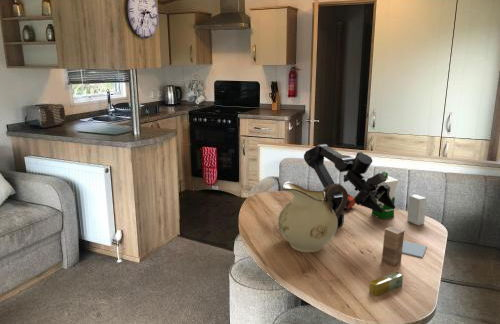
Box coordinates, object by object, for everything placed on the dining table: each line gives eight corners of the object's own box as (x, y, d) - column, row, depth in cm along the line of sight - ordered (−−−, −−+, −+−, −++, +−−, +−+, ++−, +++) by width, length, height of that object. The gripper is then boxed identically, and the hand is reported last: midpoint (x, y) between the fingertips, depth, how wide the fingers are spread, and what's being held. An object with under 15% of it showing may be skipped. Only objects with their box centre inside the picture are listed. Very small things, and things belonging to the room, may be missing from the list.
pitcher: (266, 247, 150) (267, 185, 144) (297, 227, 169) (300, 171, 162) (318, 266, 137) (322, 199, 131) (346, 242, 156) (351, 182, 149)
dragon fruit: (330, 211, 190) (353, 213, 192) (338, 207, 182) (361, 209, 185) (329, 194, 193) (351, 196, 196) (337, 189, 185) (360, 191, 188)
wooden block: (393, 266, 137) (397, 233, 133) (381, 260, 141) (384, 228, 137) (400, 263, 139) (404, 231, 136) (388, 257, 143) (392, 226, 140)
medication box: (395, 282, 128) (396, 271, 127) (402, 286, 125) (403, 275, 124) (368, 292, 122) (369, 281, 121) (375, 297, 120) (375, 285, 119)
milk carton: (383, 210, 187) (386, 170, 182) (397, 217, 179) (401, 175, 174) (368, 213, 183) (372, 172, 178) (382, 221, 175) (386, 178, 170)
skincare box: (424, 223, 172) (427, 197, 169) (417, 225, 170) (420, 199, 167) (413, 218, 177) (416, 193, 174) (406, 220, 176) (408, 195, 172)
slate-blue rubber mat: (393, 251, 148) (394, 250, 148) (399, 241, 156) (399, 239, 156) (422, 258, 143) (422, 256, 142) (426, 247, 151) (426, 246, 151)
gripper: (358, 168, 144) (389, 198, 136) (383, 164, 157) (413, 191, 149) (342, 190, 150) (371, 220, 142) (367, 184, 162) (395, 211, 154)
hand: (388, 210), depth 147 cm, fingers open, 9 cm apart
